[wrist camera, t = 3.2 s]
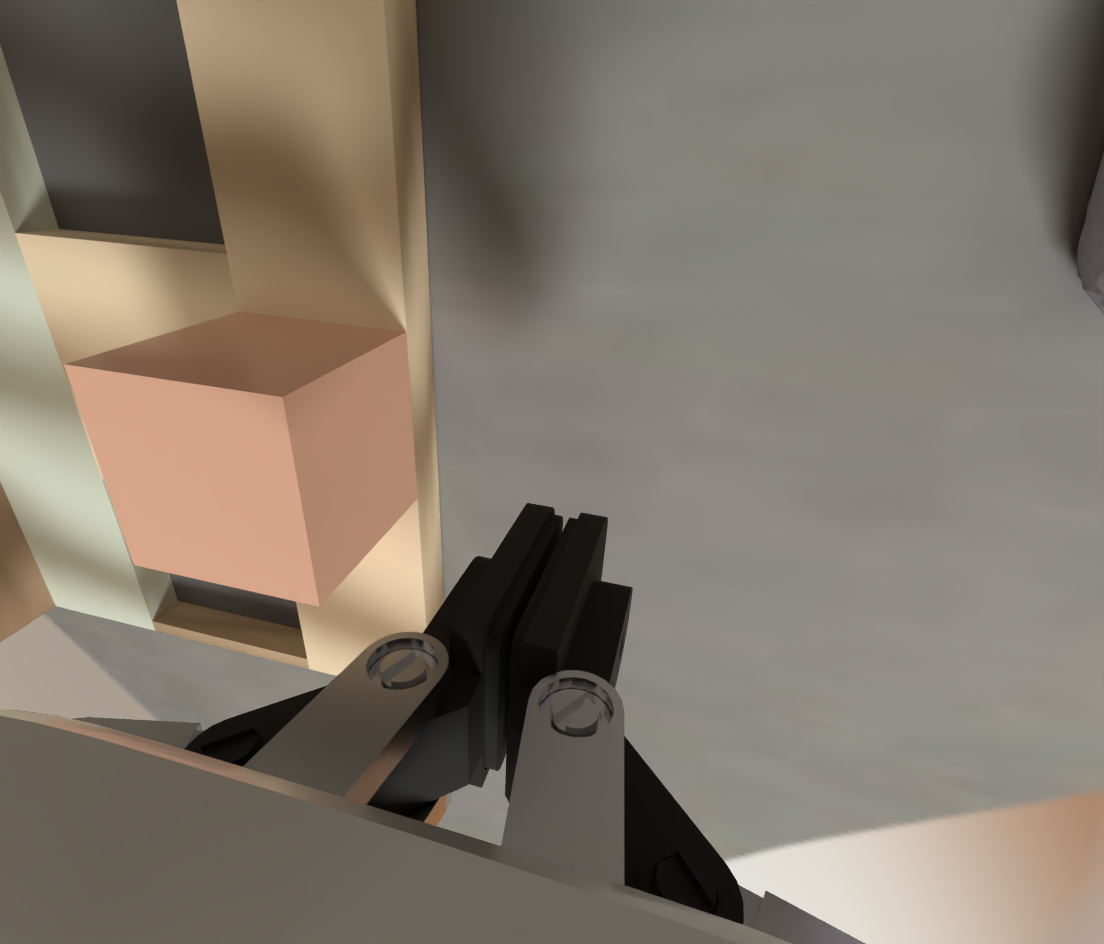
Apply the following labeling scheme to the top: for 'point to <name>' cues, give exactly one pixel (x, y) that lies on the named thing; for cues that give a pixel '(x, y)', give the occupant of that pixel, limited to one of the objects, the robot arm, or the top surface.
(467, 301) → the top surface
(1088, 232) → the stone block
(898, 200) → the top surface
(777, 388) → the top surface
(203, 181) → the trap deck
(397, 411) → the terracotta block
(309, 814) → the robot arm
